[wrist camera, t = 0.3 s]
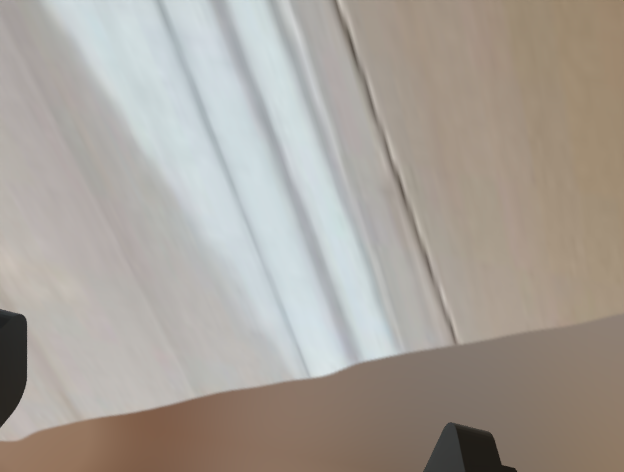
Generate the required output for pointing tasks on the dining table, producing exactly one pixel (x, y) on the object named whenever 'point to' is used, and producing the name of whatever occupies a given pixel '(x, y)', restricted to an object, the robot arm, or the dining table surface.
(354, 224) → the dining table surface
